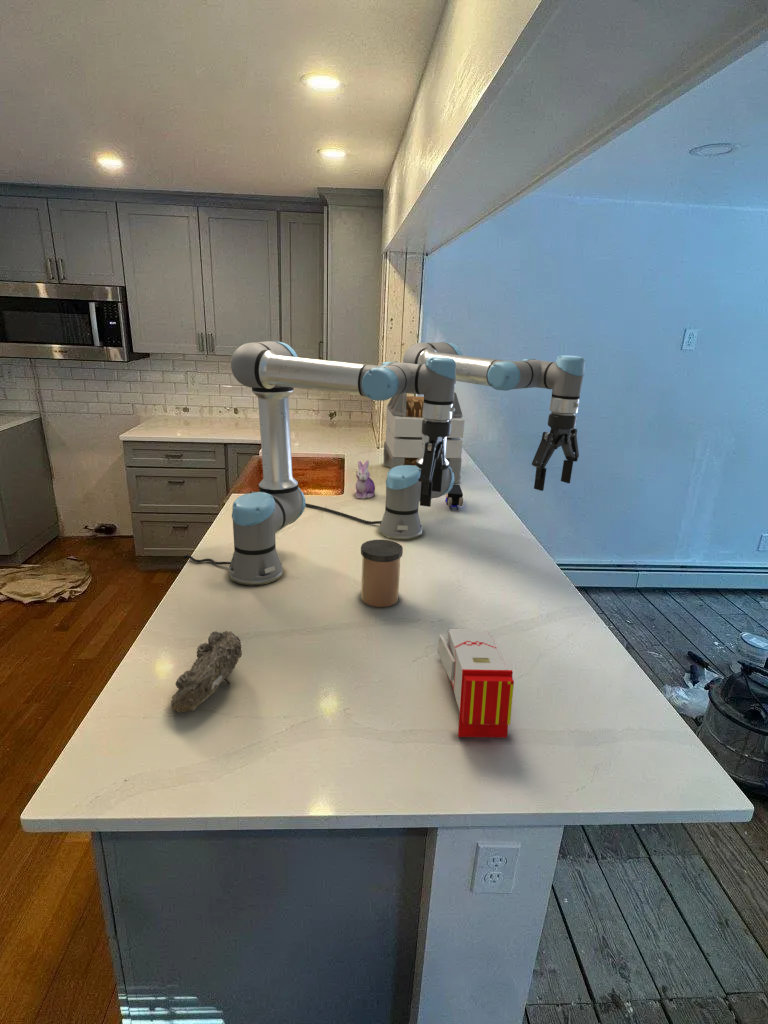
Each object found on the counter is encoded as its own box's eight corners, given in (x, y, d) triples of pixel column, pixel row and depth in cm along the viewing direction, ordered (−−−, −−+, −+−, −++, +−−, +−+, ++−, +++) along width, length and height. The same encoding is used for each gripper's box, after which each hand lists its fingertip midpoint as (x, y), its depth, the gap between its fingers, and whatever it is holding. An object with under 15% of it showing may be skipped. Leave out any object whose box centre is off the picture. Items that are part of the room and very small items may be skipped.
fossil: (194, 633, 127) (242, 602, 122) (224, 662, 130) (271, 633, 125) (149, 706, 107) (203, 673, 102) (185, 738, 110) (239, 707, 105)
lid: (361, 544, 156) (361, 538, 155) (402, 545, 156) (402, 540, 156) (359, 561, 146) (359, 555, 145) (403, 562, 146) (403, 557, 145)
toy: (488, 613, 130) (523, 677, 101) (484, 667, 133) (517, 744, 104) (435, 612, 130) (455, 676, 101) (432, 666, 133) (451, 743, 103)
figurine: (359, 500, 232) (360, 465, 227) (349, 493, 240) (350, 458, 235) (380, 498, 236) (381, 463, 231) (369, 490, 244) (370, 457, 239)
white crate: (382, 463, 289) (386, 382, 275) (445, 464, 293) (451, 384, 279) (390, 482, 257) (394, 392, 243) (460, 483, 261) (468, 394, 247)
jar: (361, 588, 160) (363, 540, 155) (397, 590, 160) (400, 542, 155) (360, 606, 150) (361, 556, 146) (398, 607, 151) (401, 557, 146)
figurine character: (463, 515, 225) (458, 499, 238) (465, 497, 221) (460, 482, 235) (446, 514, 224) (442, 498, 238) (448, 497, 221) (444, 482, 235)
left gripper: (441, 430, 133) (434, 514, 140) (459, 413, 156) (453, 487, 163) (410, 426, 135) (405, 510, 142) (433, 410, 157) (427, 483, 165)
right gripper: (548, 419, 148) (537, 496, 155) (598, 411, 163) (586, 482, 171) (525, 414, 153) (515, 489, 160) (575, 407, 169) (564, 476, 176)
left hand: (430, 498), depth 152 cm, fingers open, 13 cm apart
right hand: (552, 485), depth 166 cm, fingers open, 13 cm apart
